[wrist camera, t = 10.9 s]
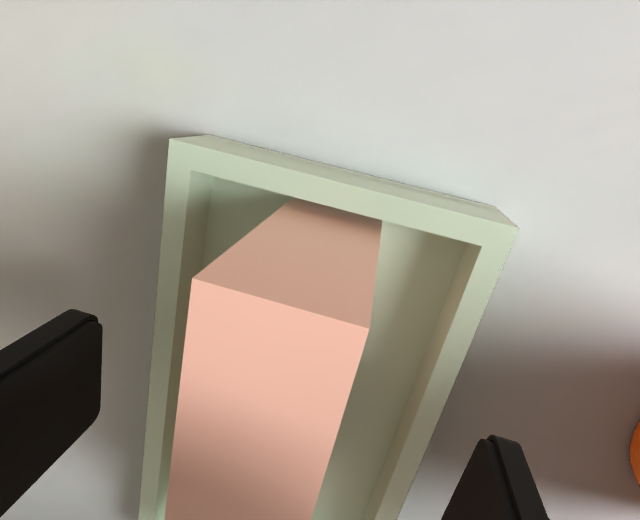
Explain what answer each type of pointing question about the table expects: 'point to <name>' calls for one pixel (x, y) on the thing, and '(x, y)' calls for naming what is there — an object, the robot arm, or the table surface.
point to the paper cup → (635, 452)
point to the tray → (386, 318)
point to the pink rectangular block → (271, 364)
